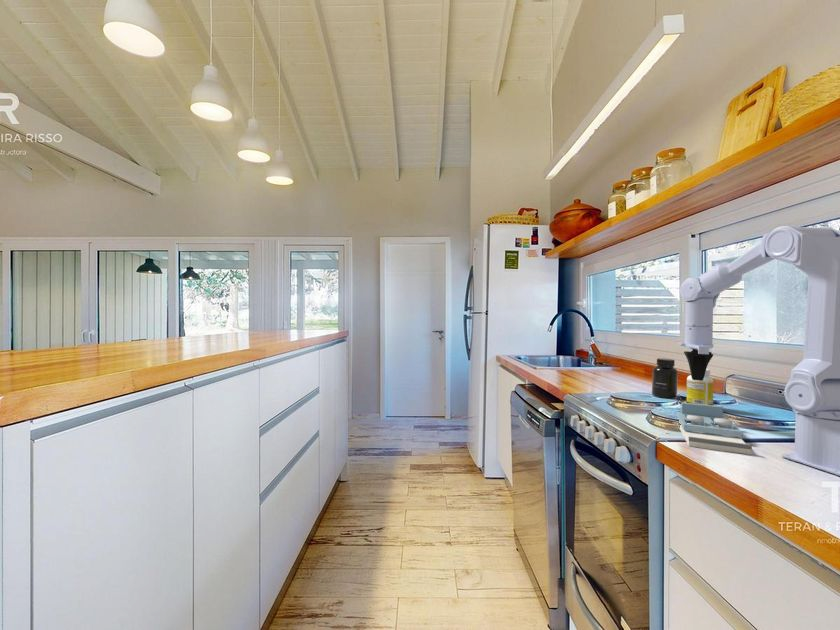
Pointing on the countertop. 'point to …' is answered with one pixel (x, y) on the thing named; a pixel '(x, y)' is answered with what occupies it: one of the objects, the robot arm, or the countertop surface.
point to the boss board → (715, 437)
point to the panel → (705, 419)
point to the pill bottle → (700, 390)
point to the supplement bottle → (665, 379)
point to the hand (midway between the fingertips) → (697, 379)
